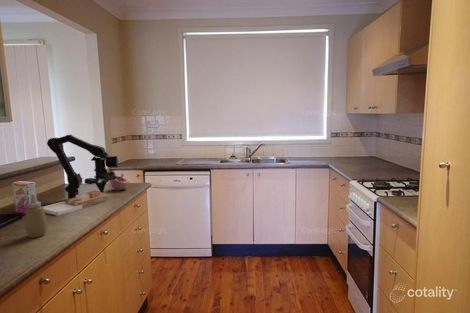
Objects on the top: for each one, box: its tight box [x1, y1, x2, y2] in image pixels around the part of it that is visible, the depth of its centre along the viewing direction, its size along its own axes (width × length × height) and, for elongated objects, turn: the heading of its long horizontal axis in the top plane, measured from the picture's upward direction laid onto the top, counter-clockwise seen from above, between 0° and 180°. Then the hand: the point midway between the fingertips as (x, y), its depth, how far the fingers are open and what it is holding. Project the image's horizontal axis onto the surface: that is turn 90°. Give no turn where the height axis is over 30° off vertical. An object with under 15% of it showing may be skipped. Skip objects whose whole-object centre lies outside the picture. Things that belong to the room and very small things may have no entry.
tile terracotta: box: [86, 190, 101, 198], centre depth 185 cm, size 5×5×2 cm
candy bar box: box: [11, 180, 38, 215], centre depth 163 cm, size 11×5×16 cm, turn 71°
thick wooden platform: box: [66, 194, 107, 209], centre depth 181 cm, size 14×16×3 cm
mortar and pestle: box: [110, 173, 130, 191], centre depth 211 cm, size 12×12×12 cm
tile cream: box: [76, 192, 89, 200], centre depth 178 cm, size 5×5×2 cm
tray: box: [42, 200, 83, 217], centre depth 168 cm, size 16×14×2 cm
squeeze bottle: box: [24, 194, 48, 239], centre depth 131 cm, size 8×8×18 cm
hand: (101, 192), depth 190 cm, fingers closed
